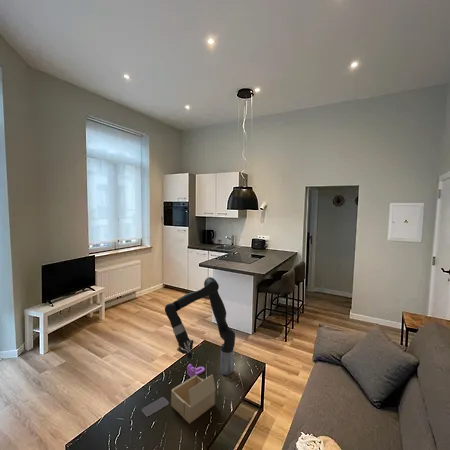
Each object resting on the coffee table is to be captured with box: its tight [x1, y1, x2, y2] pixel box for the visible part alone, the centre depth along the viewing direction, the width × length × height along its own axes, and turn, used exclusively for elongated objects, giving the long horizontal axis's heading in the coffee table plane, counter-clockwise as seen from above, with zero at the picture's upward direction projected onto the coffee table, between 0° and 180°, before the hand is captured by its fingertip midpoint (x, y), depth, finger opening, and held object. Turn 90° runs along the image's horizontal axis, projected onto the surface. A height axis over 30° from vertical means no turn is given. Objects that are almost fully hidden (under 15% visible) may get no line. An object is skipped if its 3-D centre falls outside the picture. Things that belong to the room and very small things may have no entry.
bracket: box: [186, 363, 205, 378], centre depth 187 cm, size 13×6×7 cm, turn 128°
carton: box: [170, 375, 216, 425], centre depth 157 cm, size 21×19×10 cm
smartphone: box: [141, 396, 169, 418], centre depth 155 cm, size 7×1×15 cm
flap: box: [188, 374, 217, 407], centre depth 150 cm, size 19×9×1 cm
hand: (190, 358), depth 162 cm, fingers closed
